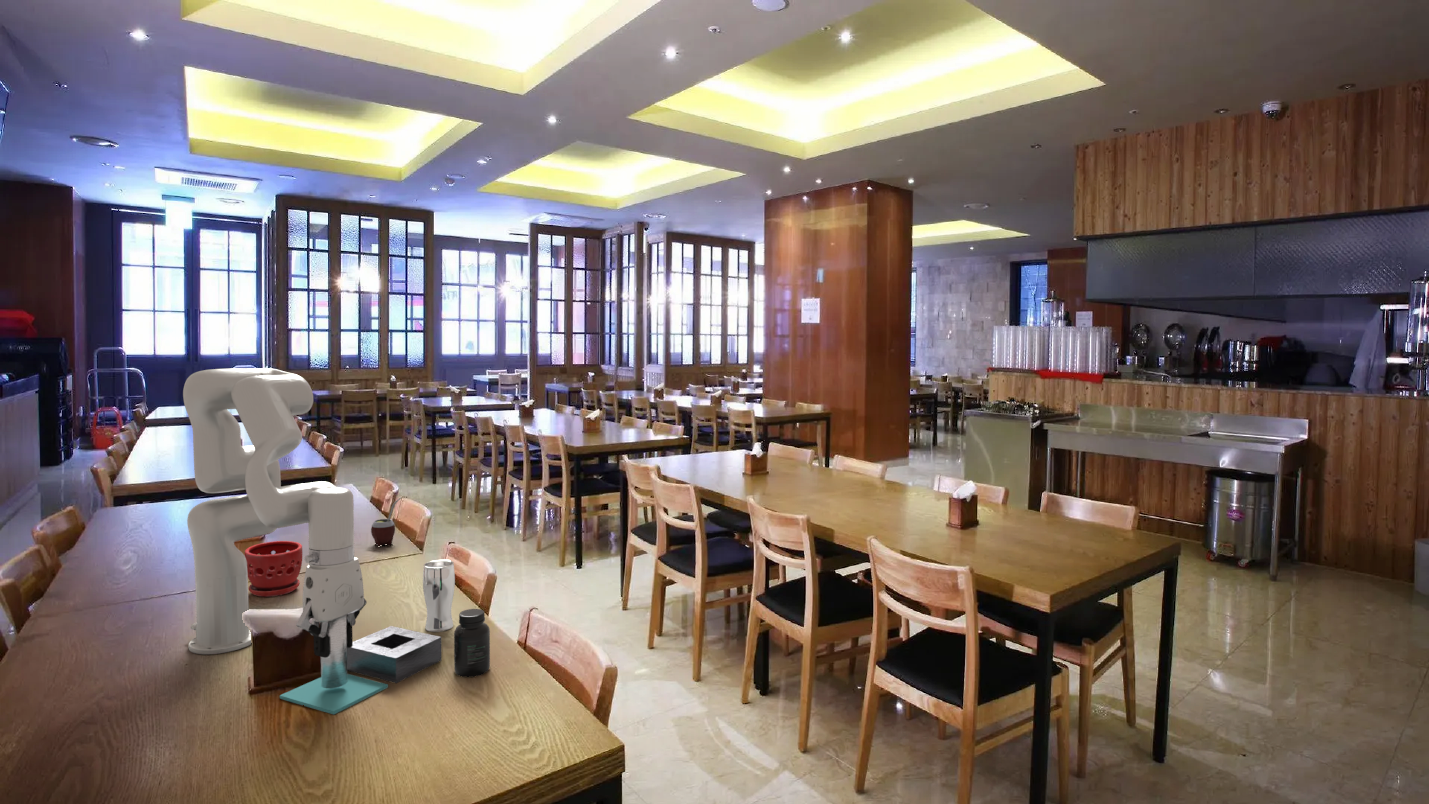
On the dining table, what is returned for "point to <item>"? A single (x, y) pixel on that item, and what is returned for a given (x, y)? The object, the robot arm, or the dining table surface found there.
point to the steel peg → (335, 655)
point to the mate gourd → (384, 529)
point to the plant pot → (274, 567)
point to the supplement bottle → (471, 644)
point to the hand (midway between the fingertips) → (333, 650)
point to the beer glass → (438, 594)
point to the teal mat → (334, 694)
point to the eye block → (393, 654)
